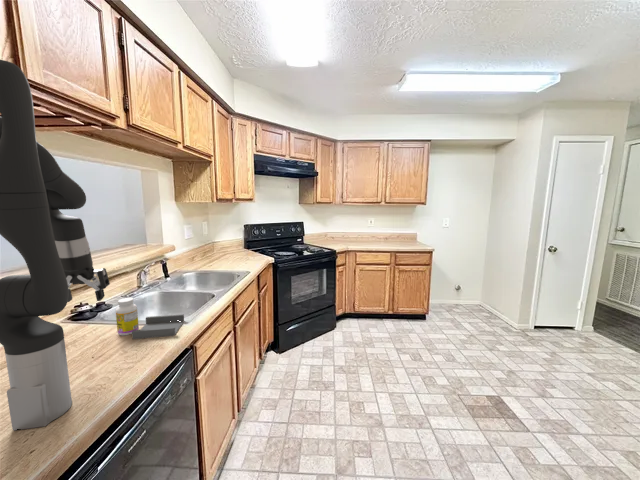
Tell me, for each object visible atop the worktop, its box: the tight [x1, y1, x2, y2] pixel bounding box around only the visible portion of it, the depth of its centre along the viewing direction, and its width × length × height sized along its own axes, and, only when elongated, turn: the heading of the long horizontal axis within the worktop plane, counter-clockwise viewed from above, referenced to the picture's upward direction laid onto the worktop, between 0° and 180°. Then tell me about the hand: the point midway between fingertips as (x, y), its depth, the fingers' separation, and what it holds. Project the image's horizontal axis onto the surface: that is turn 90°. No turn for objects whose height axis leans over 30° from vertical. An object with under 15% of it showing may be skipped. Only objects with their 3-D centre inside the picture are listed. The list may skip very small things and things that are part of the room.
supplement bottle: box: [115, 297, 140, 336], centre depth 102 cm, size 7×7×13 cm
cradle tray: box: [131, 313, 185, 340], centre depth 105 cm, size 13×14×3 cm
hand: (84, 300), depth 84 cm, fingers open, 8 cm apart
